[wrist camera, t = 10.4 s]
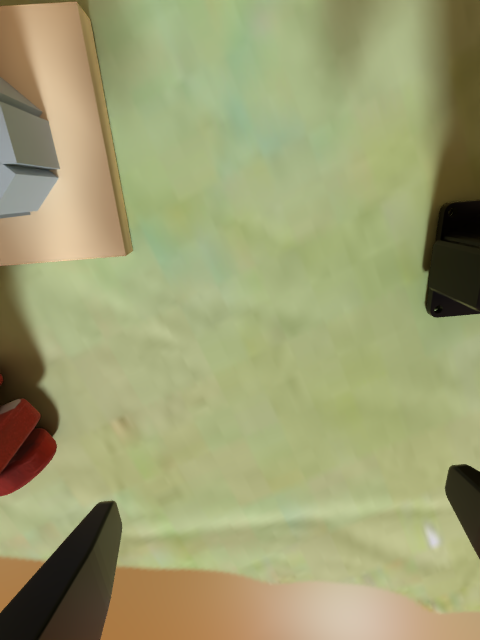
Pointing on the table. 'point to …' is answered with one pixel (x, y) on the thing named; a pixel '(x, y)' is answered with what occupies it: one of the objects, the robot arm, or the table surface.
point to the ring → (24, 155)
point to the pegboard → (64, 137)
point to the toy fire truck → (22, 445)
